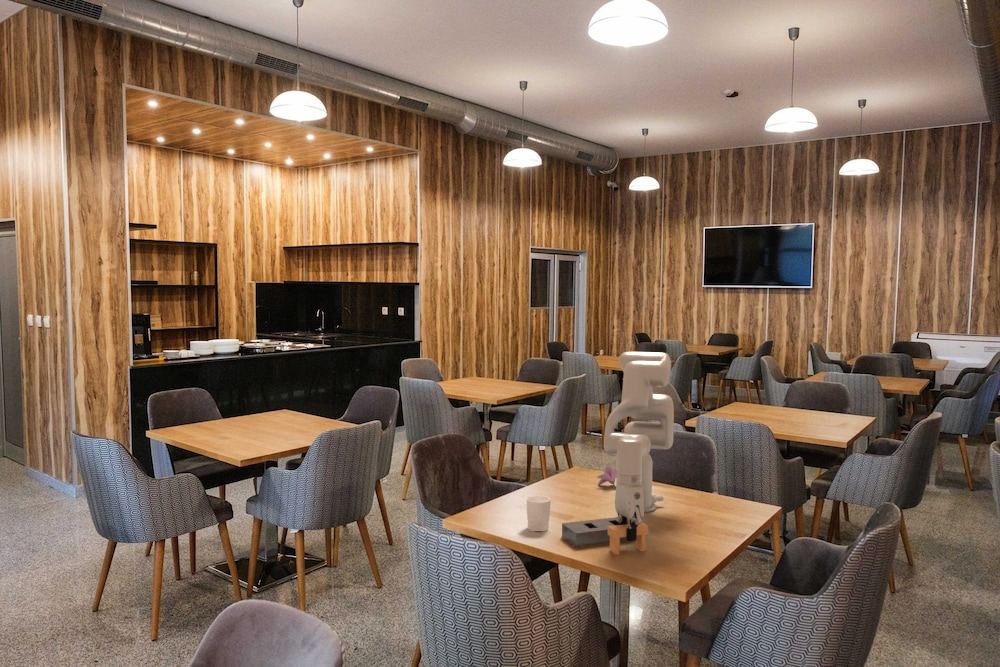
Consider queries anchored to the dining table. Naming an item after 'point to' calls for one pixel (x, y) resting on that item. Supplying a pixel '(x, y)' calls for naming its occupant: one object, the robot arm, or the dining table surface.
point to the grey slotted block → (589, 531)
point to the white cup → (538, 513)
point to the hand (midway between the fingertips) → (627, 537)
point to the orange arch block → (621, 531)
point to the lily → (608, 475)
